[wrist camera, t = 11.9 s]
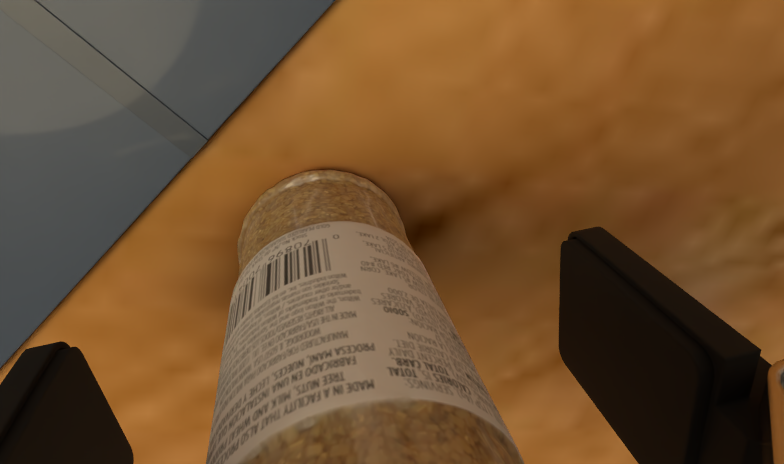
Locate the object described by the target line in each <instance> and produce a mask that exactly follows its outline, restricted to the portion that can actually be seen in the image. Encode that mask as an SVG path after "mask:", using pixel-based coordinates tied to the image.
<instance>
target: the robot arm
mask: <svg viewBox="0 0 784 464" xmlns="http://www.w3.org/2000/svg"><path fill="white" fill-rule="evenodd" d="M559 351H560V355H561V357H562V360H563V362H564V363H565V365H566V366H567V367H568V369H569V370H570V371H571V373H572V374H573V376H574V377H575V378H576V380H577V381H578V382H579V384H580V385H581V386H582V388H583V389H584V390H585V392H586V393H587V394H588V396H589V397H590V398H591V400H592V401H593V403H594V404H595V405H596V407H597V408H598V409H599V411H600V412H601V413H602V415H603V416H604V417H605V419H606V420H607V421H608V423H609V424H610V425H611V427H612V428H613V430H614V431H615V432H616V434H617V435H618V436H619V438H620V439H621V440H622V442H623V443H624V444H625V446H626V447H627V448H628V450H629V451H630V453H631V454H632V455H633V457H634V458H635V459H636V461H637V462H638V463H639V464H784V359H783V360H780V361H777V362H776V363H775V364H773V365H771V364H769V363H768V362H767V361H766V360H764V359H763V358H762V357H760V353H761V349H759V348H758V347H757V346H755V345H754V344H753V343H751V342H750V341H749V340H748V339H746V338H745V337H744V336H742V335H741V334H740V333H738V332H737V331H736V330H735V329H733V328H732V327H731V326H729V325H728V324H727V323H725V322H724V321H723V320H722V319H720V318H719V317H718V316H716V315H715V314H714V313H712V312H711V311H710V310H709V309H707V308H706V307H705V306H703V305H702V304H701V303H700V302H698V301H697V300H696V299H694V298H693V297H692V296H690V295H689V294H688V293H687V292H685V291H684V290H683V289H681V288H680V287H679V286H677V285H676V284H675V283H674V282H672V281H671V280H670V279H668V278H667V277H666V276H664V275H663V274H662V273H661V272H659V271H658V270H657V269H655V268H654V267H653V266H651V265H650V264H649V263H648V262H646V261H645V260H644V259H642V258H641V257H640V256H638V255H637V254H636V253H635V252H633V251H632V250H631V249H629V248H628V247H627V246H625V245H624V244H623V243H622V242H620V241H619V240H618V239H616V238H615V237H614V236H612V235H611V234H610V233H609V232H607V231H606V230H605V229H603V228H601V227H593V228H588V229H584V230H579V231H574V232H571V233H570V234H569V236H568V240H566V241H563V242H562V244H561V257H560V306H559ZM133 461H134V460H133V452H132V449H131V446H130V444H129V443H128V441H127V439H126V437H125V435H124V433H123V431H122V429H121V427H120V425H119V423H118V421H117V419H116V417H115V415H114V414H113V412H112V410H111V408H110V406H109V404H108V402H107V400H106V398H105V396H104V394H103V392H102V390H101V388H100V386H99V385H98V383H97V381H96V379H95V377H94V375H93V373H92V371H91V369H90V367H89V365H88V363H87V361H86V359H85V358H84V356H83V354H82V352H81V351H80V349H78V348H77V347H71V348H70V346H69V345H68V344H67V343H65V342H57V343H52V344H47V345H43V346H38V347H33V348H29V349H26V350H25V351H24V352H23V353H22V354H21V356H20V357H19V359H18V360H17V361H16V363H15V364H14V366H13V367H12V369H11V370H10V372H9V373H8V374H7V376H6V377H5V379H4V380H3V382H2V383H1V385H0V464H133Z"/></svg>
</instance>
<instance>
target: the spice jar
mask: <svg viewBox="0 0 784 464" xmlns="http://www.w3.org/2000/svg"><path fill="white" fill-rule="evenodd" d="M237 246H238V259H239V265H240V269H239V278H238V281H237V283H236V285H235V288H234V290H233V294H232V299H231V304H230V309H229V315H228V322H227V329H226V335H225V340H224V347H223V353H222V359H221V366H220V373H219V380H218V387H217V395H216V401H215V408H214V414H213V421H212V427H211V434H210V440H209V447H208V454H207V461H206V464H524V462H523V459H522V457H521V455H520V453H519V451H518V449H517V447H516V445H515V443H514V441H513V439H512V437H511V435H510V433H509V431H508V429H507V428H506V426H505V424H504V422H503V420H502V418H501V416H500V414H499V412H498V410H497V408H496V406H495V405H494V403H493V401H492V399H491V397H490V395H489V393H488V391H487V389H486V387H485V385H484V384H483V382H482V380H481V378H480V376H479V374H478V372H477V370H476V368H475V366H474V364H473V362H472V360H471V358H470V356H469V354H468V352H467V350H466V348H465V346H464V344H463V342H462V340H461V338H460V336H459V334H458V332H457V330H456V328H455V326H454V324H453V322H452V320H451V319H450V317H449V315H448V313H447V311H446V309H445V307H444V305H443V303H442V301H441V299H440V297H439V295H438V293H437V291H436V289H435V287H434V285H433V283H432V281H431V279H430V277H429V275H428V273H427V271H426V269H425V267H424V265H423V263H422V262H421V260H420V259H419V257H418V256H417V255H416V254H415V253H414V251H413V249H412V247H411V245H410V243H409V241H408V239H407V237H406V232H405V228H404V224H403V222H402V220H401V218H400V216H399V213H398V210H397V208H396V207H395V205H394V203H393V202H392V201H391V199H390V198H389V197H388V196H387V194H386V193H385V192H383V191H382V190H381V189H379V188H378V187H377V186H376V185H375V184H373V183H372V182H371V181H369V180H368V179H365V178H362V177H359V176H357V175H354V174H352V173H348V172H340V171H336V170H313V171H306V172H301V173H299V174H296V175H294V176H292V177H289V178H286V179H284V180H282V181H280V182H279V183H278V184H276V185H275V186H274V187H273V188H270V189H268V190H267V191H265V192H264V193H263V194H262V195H261V196H260V197H259V198H258V200H257V201H256V203H255V204H254V205H253V206H252V207H251V209H250V210H249V212H248V214H247V215H246V217H245V219H244V222H243V226H242V231H241V234H240V237H239V239H238V245H237Z"/></svg>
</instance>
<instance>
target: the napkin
mask: <svg viewBox="0 0 784 464" xmlns="http://www.w3.org/2000/svg"><path fill="white" fill-rule="evenodd" d="M334 1H335V0H0V368H1V367H2V366H3V365H4V364H5V363H6V362H7V360H8V359H9V358H10V357H11V356H12V355H13V354H14V353H15V352H16V351H17V349H18V348H19V347H20V346H21V345H22V344H23V343H24V342H25V341H26V340H27V338H28V337H29V336H30V335H31V334H32V333H33V332H34V331H35V330H36V329H37V327H38V326H39V325H40V324H41V323H42V322H43V321H44V320H45V319H46V318H47V316H48V315H49V314H50V313H51V312H52V311H53V310H54V309H55V308H56V307H57V306H58V304H59V303H60V302H61V301H62V300H63V299H64V298H65V297H66V296H67V295H68V293H69V292H70V291H71V290H72V289H73V288H74V287H75V286H76V285H77V284H78V282H79V281H80V280H81V279H82V278H83V277H84V276H85V275H86V274H87V273H88V271H89V270H90V269H91V268H92V267H93V266H94V265H95V264H96V263H97V262H98V260H99V259H100V258H101V257H102V256H103V255H104V254H105V253H106V252H107V251H108V249H109V248H110V247H111V246H112V245H113V244H114V243H115V242H116V241H117V240H118V239H119V237H120V236H121V235H122V234H123V233H124V232H125V231H126V230H127V229H128V228H129V226H130V225H131V224H132V223H133V222H134V221H135V220H136V219H137V218H138V217H139V215H140V214H141V213H142V212H143V211H144V210H145V209H146V208H147V207H148V206H149V204H150V203H151V202H152V201H153V200H154V199H155V198H156V197H157V196H158V195H159V193H160V192H161V191H162V190H163V189H164V188H165V187H166V186H167V185H168V184H169V182H170V181H171V180H172V179H173V178H174V177H175V176H176V175H177V174H178V173H179V172H180V170H181V169H182V168H183V167H184V166H185V165H186V164H187V163H188V162H189V161H190V159H191V158H193V157H194V155H195V154H196V153H197V152H198V151H199V150H200V149H201V148H202V147H203V146H204V145H205V143H206V142H207V141H208V140H209V139H210V137H211V136H212V135H213V134H214V133H215V132H216V131H217V130H218V129H219V128H220V126H221V125H222V124H223V123H224V122H225V121H226V120H227V119H228V118H229V117H230V115H231V114H232V113H233V112H234V111H235V110H236V109H237V108H238V107H239V106H240V105H241V103H242V102H243V101H244V100H245V99H246V98H247V97H248V96H249V95H250V94H251V92H252V91H253V90H254V89H255V88H256V87H257V86H258V85H259V84H260V83H261V81H262V80H263V79H264V78H265V77H266V76H267V75H268V74H269V73H270V72H271V70H272V69H273V68H274V67H275V66H276V65H277V64H278V63H279V62H280V61H281V59H282V58H283V57H284V56H285V55H286V54H287V53H288V52H289V51H290V50H291V48H292V47H293V46H294V45H295V44H296V43H297V42H298V41H299V40H300V39H301V38H302V36H303V35H304V34H305V33H306V32H307V31H308V30H309V29H310V28H311V27H312V25H313V24H314V23H315V22H316V21H317V20H318V19H319V18H320V17H321V16H322V14H323V13H324V12H325V11H326V10H327V9H328V8H329V7H330V6H331V5H332V3H333V2H334Z"/></svg>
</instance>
